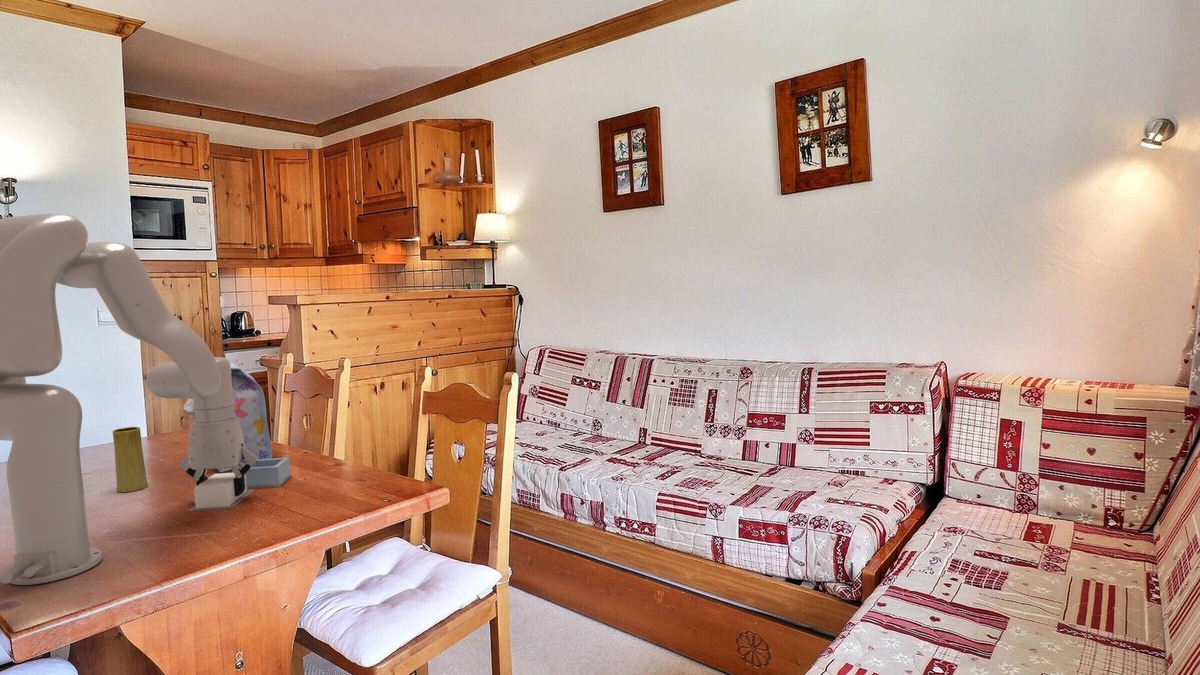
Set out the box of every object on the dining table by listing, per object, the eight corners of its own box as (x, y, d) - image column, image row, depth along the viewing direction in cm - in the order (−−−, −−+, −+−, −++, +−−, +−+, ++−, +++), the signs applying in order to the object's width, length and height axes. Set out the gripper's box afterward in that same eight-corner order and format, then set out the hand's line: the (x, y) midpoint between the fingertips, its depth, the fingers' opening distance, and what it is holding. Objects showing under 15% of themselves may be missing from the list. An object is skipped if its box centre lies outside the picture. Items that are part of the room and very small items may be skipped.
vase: (131, 493, 153) (125, 432, 152) (109, 492, 154) (103, 432, 153) (154, 484, 159) (148, 426, 158) (132, 484, 160) (126, 426, 159)
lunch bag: (185, 460, 181) (176, 363, 178) (252, 447, 192) (245, 356, 189) (204, 477, 164) (194, 370, 162) (277, 462, 175) (269, 362, 173)
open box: (279, 488, 153) (277, 466, 153) (242, 490, 152) (240, 469, 152) (290, 477, 161) (289, 457, 161) (255, 480, 160) (254, 459, 160)
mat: (233, 509, 140) (232, 507, 140) (187, 512, 139) (187, 510, 139) (254, 491, 152) (254, 489, 152) (212, 494, 150) (212, 492, 150)
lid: (228, 506, 141) (226, 485, 140) (195, 508, 140) (193, 487, 139) (247, 491, 150) (245, 471, 150) (216, 493, 150) (214, 473, 149)
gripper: (162, 421, 138) (170, 504, 140) (250, 416, 141) (257, 498, 142) (180, 413, 146) (187, 493, 148) (263, 409, 148) (270, 487, 150)
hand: (221, 494), depth 145 cm, fingers closed on lid, 6 cm apart
